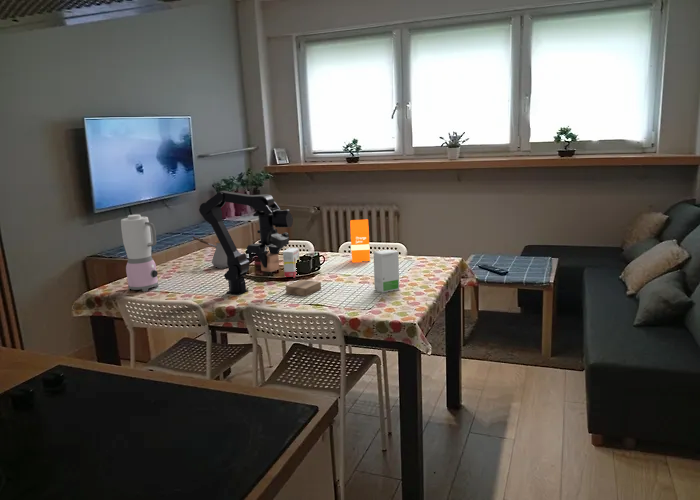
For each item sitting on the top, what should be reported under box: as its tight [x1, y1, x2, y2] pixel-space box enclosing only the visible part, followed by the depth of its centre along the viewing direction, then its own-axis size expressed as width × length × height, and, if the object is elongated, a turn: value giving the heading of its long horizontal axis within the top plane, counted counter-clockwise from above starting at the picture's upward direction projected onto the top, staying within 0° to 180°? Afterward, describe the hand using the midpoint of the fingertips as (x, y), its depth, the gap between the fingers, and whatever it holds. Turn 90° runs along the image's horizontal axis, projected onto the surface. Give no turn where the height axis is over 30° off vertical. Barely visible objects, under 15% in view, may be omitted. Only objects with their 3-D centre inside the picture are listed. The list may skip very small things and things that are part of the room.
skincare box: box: [372, 249, 400, 294], centre depth 219 cm, size 8×7×16 cm
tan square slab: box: [285, 279, 322, 297], centre depth 225 cm, size 10×10×3 cm
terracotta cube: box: [260, 252, 280, 273], centre depth 220 cm, size 5×5×6 cm
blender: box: [120, 214, 159, 292], centre depth 238 cm, size 16×12×32 cm
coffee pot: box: [191, 236, 228, 269], centre depth 274 cm, size 21×12×15 cm, turn 78°
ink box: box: [282, 247, 300, 279], centre depth 249 cm, size 9×5×12 cm, turn 166°
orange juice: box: [350, 219, 371, 263], centre depth 270 cm, size 8×9×20 cm
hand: (270, 266), depth 221 cm, fingers closed on terracotta cube, 5 cm apart
